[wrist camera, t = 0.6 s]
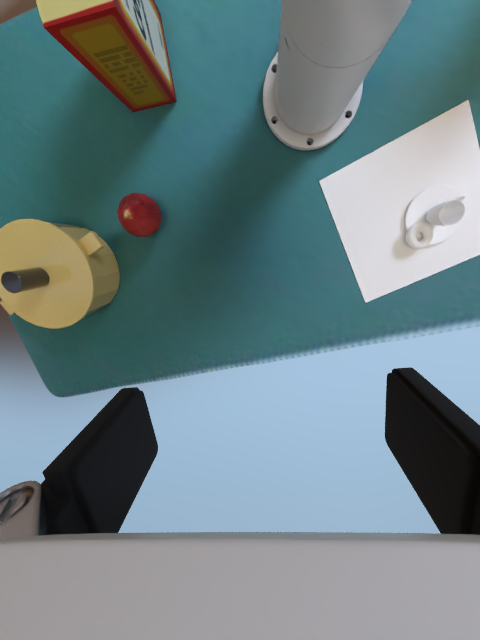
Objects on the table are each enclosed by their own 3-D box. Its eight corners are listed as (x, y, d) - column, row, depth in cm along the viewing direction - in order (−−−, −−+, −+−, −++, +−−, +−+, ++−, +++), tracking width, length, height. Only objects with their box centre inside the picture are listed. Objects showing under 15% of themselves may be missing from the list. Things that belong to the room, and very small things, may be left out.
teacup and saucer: (406, 256, 39) (422, 258, 35) (390, 206, 37) (405, 202, 33) (469, 228, 37) (492, 228, 34) (455, 174, 36) (478, 166, 32)
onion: (126, 205, 41) (95, 198, 33) (159, 190, 40) (134, 180, 32) (143, 241, 42) (116, 242, 35) (174, 228, 41) (154, 226, 33)
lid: (-25, 258, 38) (-73, 261, 33) (46, 195, 34) (5, 187, 29) (47, 342, 42) (15, 358, 36) (119, 294, 38) (95, 303, 32)
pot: (11, 264, 45) (-36, 269, 38) (92, 196, 41) (56, 188, 34) (67, 331, 48) (33, 348, 41) (148, 276, 44) (126, 284, 37)
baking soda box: (176, 101, 36) (112, 2, 21) (132, 112, 37) (40, 24, 21) (160, 13, 33) (72, -176, 18) (113, 27, 34) (-9, -143, 19)
